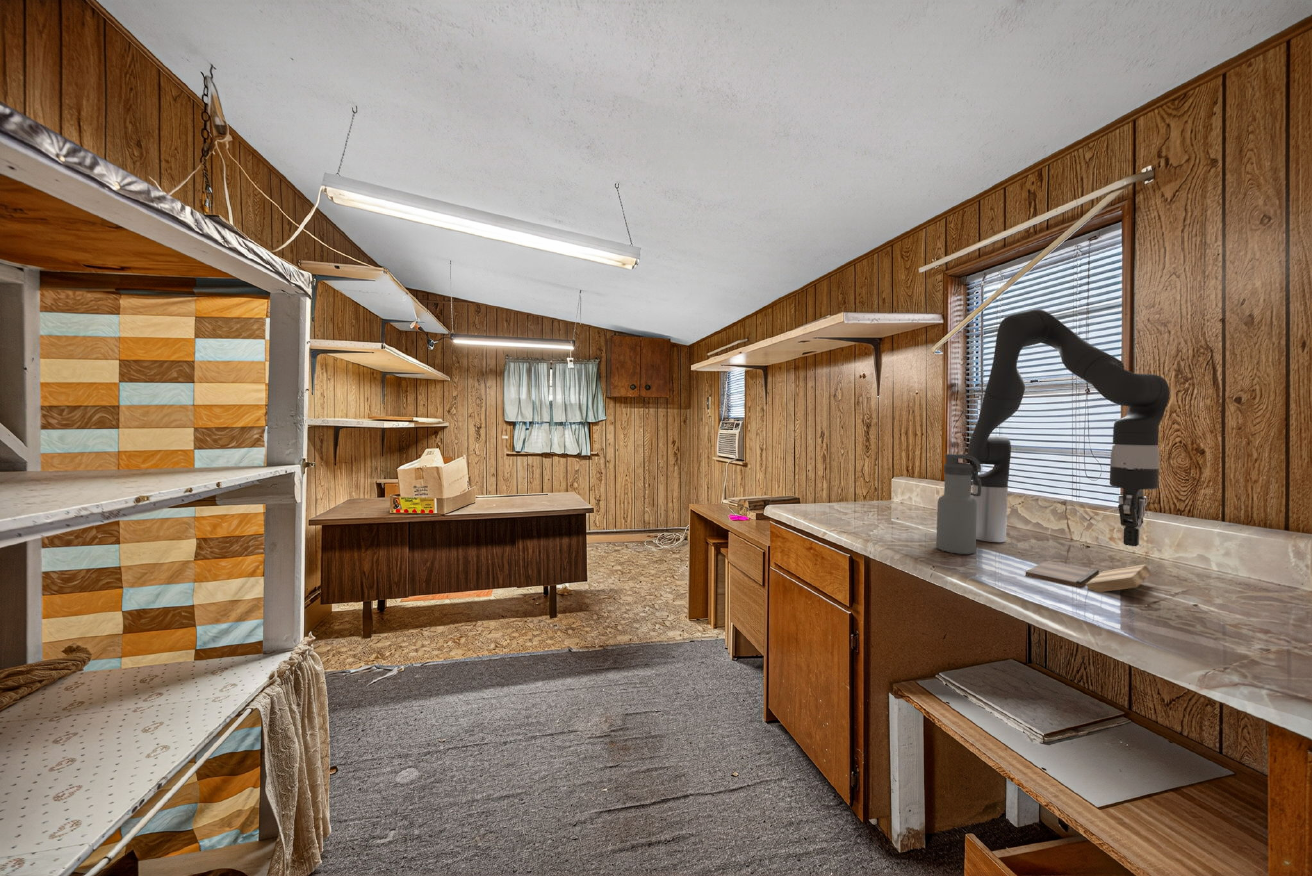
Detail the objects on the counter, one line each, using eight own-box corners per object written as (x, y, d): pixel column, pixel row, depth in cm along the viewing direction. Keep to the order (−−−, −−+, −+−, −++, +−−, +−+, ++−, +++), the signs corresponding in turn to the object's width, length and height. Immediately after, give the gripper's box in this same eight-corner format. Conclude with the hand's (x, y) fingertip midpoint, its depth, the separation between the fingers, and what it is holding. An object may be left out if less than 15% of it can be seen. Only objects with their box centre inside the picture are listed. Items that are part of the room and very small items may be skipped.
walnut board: (1046, 568, 123) (1046, 559, 123) (1098, 578, 115) (1099, 569, 115) (1025, 580, 113) (1025, 570, 113) (1080, 592, 105) (1081, 581, 105)
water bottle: (965, 546, 144) (968, 453, 143) (984, 555, 134) (988, 456, 133) (930, 545, 145) (932, 453, 144) (946, 554, 135) (949, 455, 134)
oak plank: (1107, 579, 114) (1103, 571, 114) (1150, 573, 108) (1145, 564, 108) (1090, 593, 104) (1085, 583, 105) (1136, 587, 98) (1131, 577, 99)
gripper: (1117, 463, 111) (1114, 538, 111) (1103, 465, 103) (1100, 545, 103) (1164, 466, 105) (1161, 544, 105) (1153, 468, 97) (1149, 553, 97)
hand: (1131, 545), depth 104 cm, fingers closed
